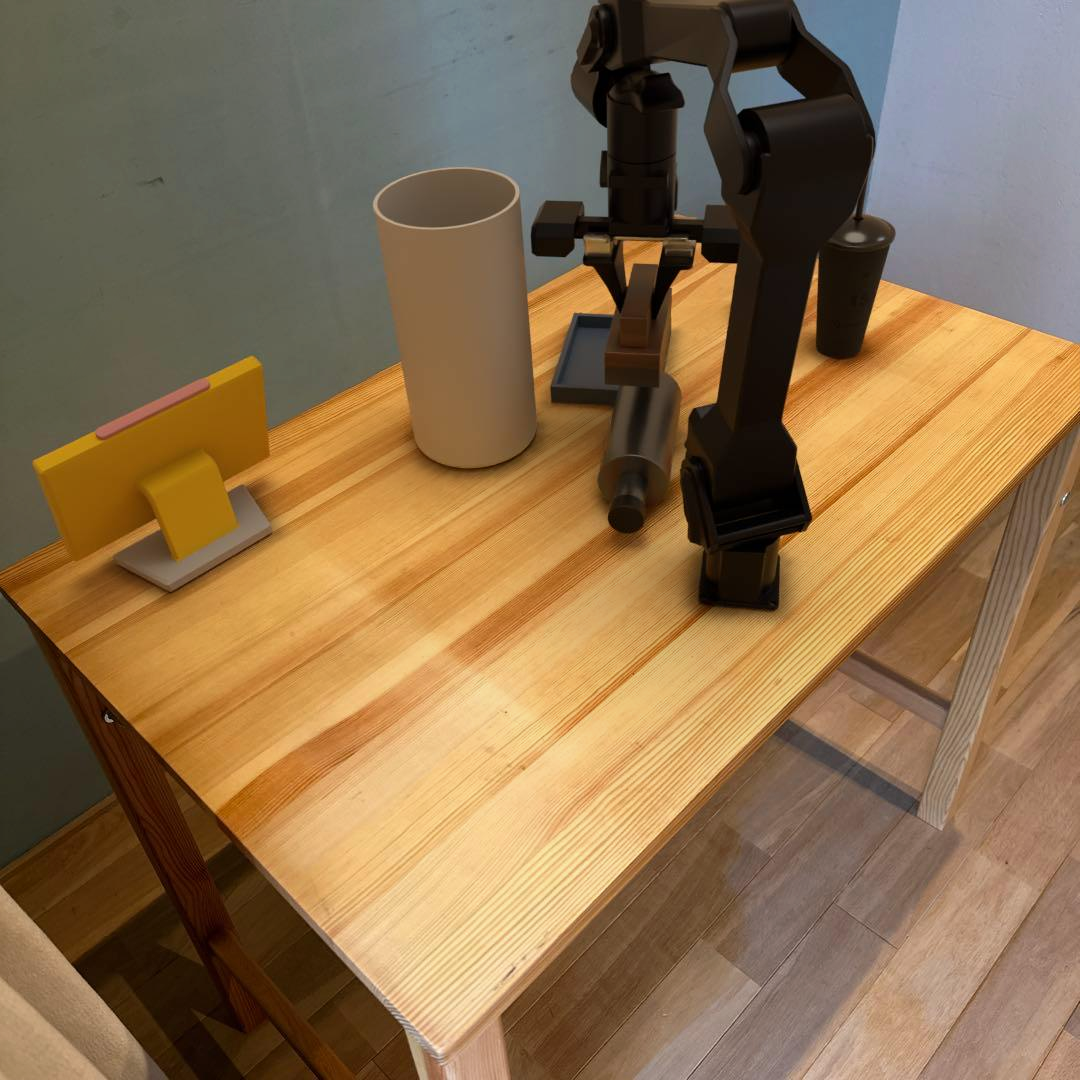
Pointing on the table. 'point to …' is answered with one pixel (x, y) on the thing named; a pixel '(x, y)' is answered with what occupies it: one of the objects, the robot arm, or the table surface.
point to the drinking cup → (850, 281)
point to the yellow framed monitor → (166, 478)
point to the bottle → (639, 452)
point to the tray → (586, 362)
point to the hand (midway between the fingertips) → (639, 316)
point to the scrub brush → (638, 333)
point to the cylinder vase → (460, 312)
